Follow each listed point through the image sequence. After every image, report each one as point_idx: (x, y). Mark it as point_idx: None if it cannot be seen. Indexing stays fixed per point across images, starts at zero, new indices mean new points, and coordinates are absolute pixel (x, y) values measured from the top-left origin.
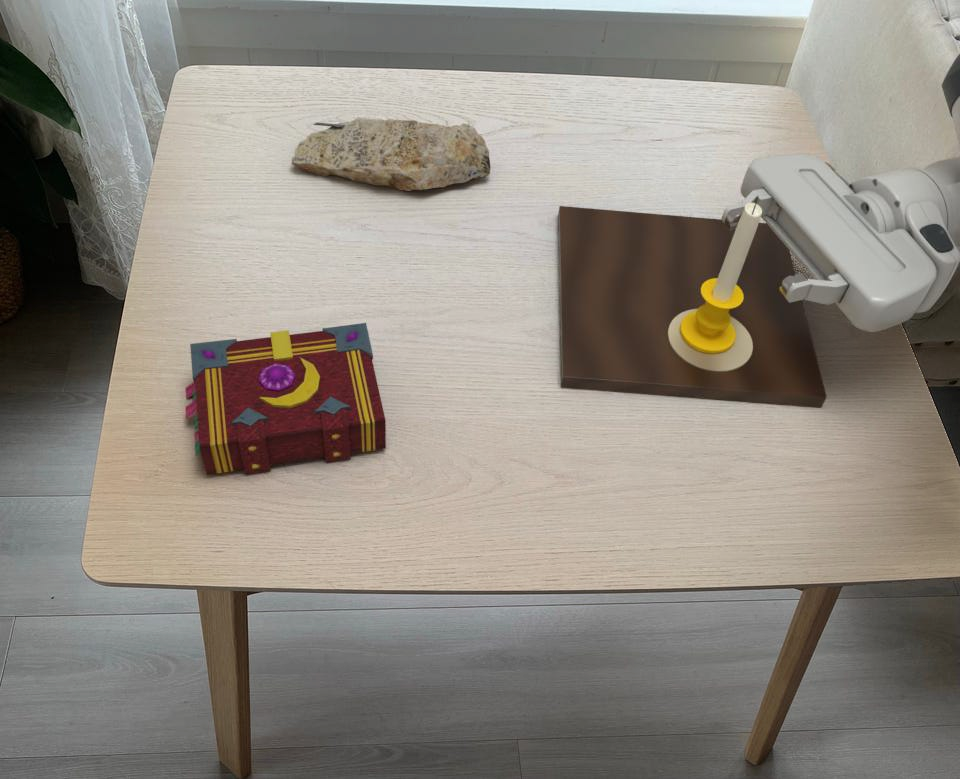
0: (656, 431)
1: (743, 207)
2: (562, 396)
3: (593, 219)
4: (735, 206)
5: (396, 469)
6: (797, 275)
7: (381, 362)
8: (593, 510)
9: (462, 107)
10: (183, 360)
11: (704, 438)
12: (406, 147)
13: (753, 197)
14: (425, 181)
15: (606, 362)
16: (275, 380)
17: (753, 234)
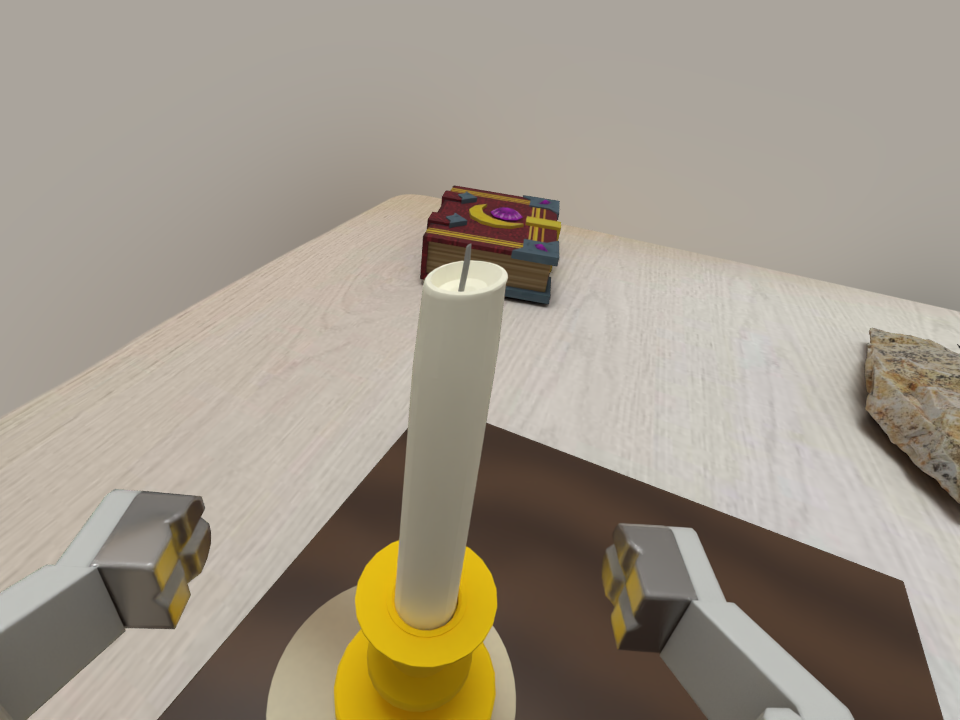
0: (268, 491)
1: (688, 585)
2: None
3: (874, 631)
4: (693, 554)
5: (396, 284)
6: (158, 540)
7: (536, 313)
8: (220, 371)
9: None
10: (572, 242)
11: None
12: (945, 384)
13: (777, 674)
14: (880, 405)
15: None
16: (499, 208)
17: (412, 376)
